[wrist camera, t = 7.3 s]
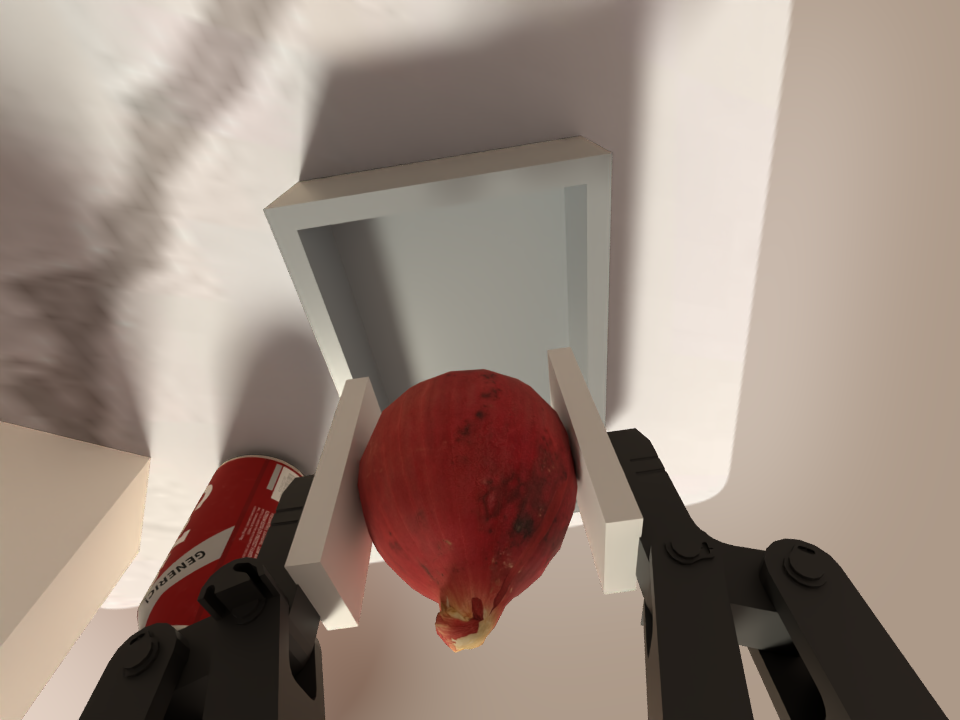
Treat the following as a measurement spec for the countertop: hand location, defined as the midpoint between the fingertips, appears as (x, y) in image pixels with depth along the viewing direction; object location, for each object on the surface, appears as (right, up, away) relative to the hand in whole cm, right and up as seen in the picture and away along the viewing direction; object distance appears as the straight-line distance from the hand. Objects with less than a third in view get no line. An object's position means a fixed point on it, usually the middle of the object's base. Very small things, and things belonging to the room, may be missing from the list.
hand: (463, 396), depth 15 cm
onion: (0, 0, 0) cm, 0 cm away
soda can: (-16, -8, +18) cm, 25 cm away
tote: (0, +2, +13) cm, 13 cm away
